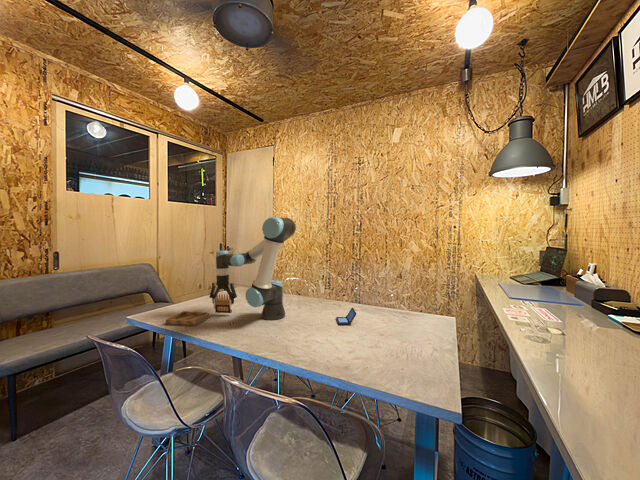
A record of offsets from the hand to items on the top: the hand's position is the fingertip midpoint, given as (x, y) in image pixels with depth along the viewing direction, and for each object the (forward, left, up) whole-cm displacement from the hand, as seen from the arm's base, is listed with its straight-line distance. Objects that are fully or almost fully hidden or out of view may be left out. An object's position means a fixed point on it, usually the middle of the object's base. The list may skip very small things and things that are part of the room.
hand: (223, 308), depth 167 cm
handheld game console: (-79, 0, -5) cm, 79 cm away
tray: (+15, +13, -4) cm, 21 cm away
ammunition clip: (0, 0, -3) cm, 3 cm away
